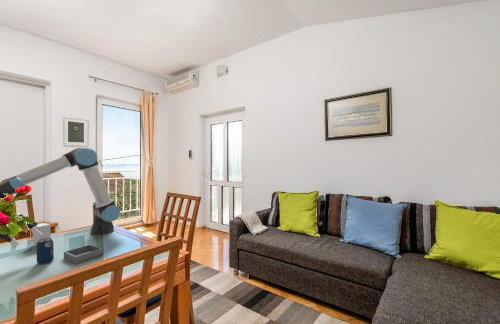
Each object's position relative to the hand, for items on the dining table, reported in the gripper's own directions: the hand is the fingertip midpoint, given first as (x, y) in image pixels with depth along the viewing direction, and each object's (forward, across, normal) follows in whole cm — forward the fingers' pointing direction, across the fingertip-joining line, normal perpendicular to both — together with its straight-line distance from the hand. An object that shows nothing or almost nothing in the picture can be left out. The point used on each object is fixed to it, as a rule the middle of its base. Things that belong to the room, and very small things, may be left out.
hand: (29, 240), depth 129 cm
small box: (-2, -24, -20) cm, 31 cm away
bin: (+25, -8, +8) cm, 27 cm away
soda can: (+14, -1, -3) cm, 14 cm away
